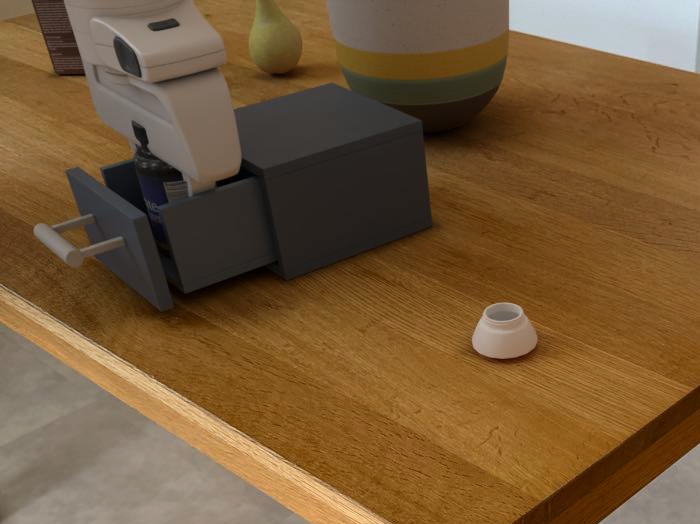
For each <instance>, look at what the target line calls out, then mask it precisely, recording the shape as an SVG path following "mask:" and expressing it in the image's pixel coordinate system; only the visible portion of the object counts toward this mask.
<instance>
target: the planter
mask: <svg viewBox="0 0 700 524" xmlns="http://www.w3.org/2000/svg"><path fill="white" fill-rule="evenodd" d="M325 2H326V3H325V4H326V8H327V13H328V19H329V24H330V29H331V34H332V39H333V44H334V45H333V46H334V49H335V52H336V56H337V60H338V63H339V66H340V69H341V72H342V75H343V77H344V79H345V82H346V84H347V86H348V89H349V90H351V91H353V92H356V93H358V94H360V95H363V96H365V97H368V98H370V99H372V100H375V101H377V102H379V103H382V104H384V105H387V106H389V107H391V108H394V109H396V110H398V111H401V112H403V113H405V114H408V115H410V116H413V117H415V118H417V119H420V120H422V128H423V130H422V131H423V134H430V133H439V132H445V131H446V132H447V131H449V130H453V129H456V128H458V127H461V126H463V125H465V124H467V123H468V122H470V121H471V120H473V119H475V117H477V116H478V115H479V114H480V113H481V112H482V111H484V109H485V108H486V107H487V106H488V105H489V104H490V102H491V101H492V100H493V98H494V97H495V95H496V94H497V92H498V90H499V89H500V86H501V84H502V81H503V78H504V76H505V70H506V66H507V62H508V53H509V44H510V43H509V41H510V0H325Z"/></svg>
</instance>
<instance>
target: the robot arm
mask: <svg viewBox="0 0 700 524" xmlns="http://www.w3.org/2000/svg"><path fill="white" fill-rule="evenodd" d="M64 4H65V7H66V10H67V13H68V16H69V20H70V23H71V26H72V29H73V32H74V36H75V39H76V42H77V45H78V49H79V52H80V55H81V58H82V62H83V66H84V70H85V74H84V75H85V79H86V82H87V86H88V89H89V93H90V96H91V100H92V104H93V107H94V109H95V112H96V114H97V116H98V118H99V120H100V121H101V123H102V124H103V125H104V126H106V127H108V128H109V129H111V130H113V131H115V132H116V133H117V134H119V135H121V136H122V137H124V138H125V139H127V140H128V143H129V146H130V149H131V151H132V153H133V154H134V155H135V153H136V151H137V149H138V148H139V147H141V144H140V142H139V141H138V140H137V139H136V137H135V135H134V131H133V127H132V123H131V121H132V120H133V121H134V122H136V123H138V124H139V125H141V126H143V127H144V128H145V130H146V133H147V137H148V141H149V144H148V145H147V147H148V148H149V150H150V151H151V153H152V154H153V155H155V156H156V157H158V158H159V159H161V160H163V161H164V162H166V163H168V164H169V165H171V166H172V167H174V168H176V169H177V170H179V171H180V172H182V176H183V179H184V181H186V182H187V186H188V196H186V197H189V196H193V195H196V194H199V193H202V192H205V191H209V190H212V189H214V186H215V181H219V180H222V179H225V178H228V177H231V176H234V175H236V174H237V173H238V172H239V169H240V165H241V160H242V156H241V147H240V141H239V135H238V129H237V124H236V119H235V114H234V109H235V108H234V104H233V99H232V96H231V92H230V87H229V85H228V83H227V80H226V78H225V76H224V74H223V73H222V71H221V69H219V67H223V66H225V65H226V64H227V62H228V56H227V51H226V46H225V42H224V40H223V37H222V36H221V34H220V33H219V32H218V31H217V30H216V29H215V28H214V27H213V25H211V24H210V23H209V22H208V21H207V20H206V18H205V17H204V16H203V15H202V13H201V12H200V11H199V9H198V8H197V6H196V4H195V2H194V0H64ZM186 197H185V198H186Z"/></svg>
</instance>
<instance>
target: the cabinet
mask: <svg viewBox="0 0 700 524" xmlns="http://www.w3.org/2000/svg"><path fill="white" fill-rule="evenodd" d="M233 109H234V114H235V119H236V124H237V129H238V135H239V141H240V147H241V156H242V160H241V165H240V166H241V167H243V168H245V169H247V170H249V171H250V172H252V173H254V174H256V175H257V176H259V177H260V179H261V184H262V189H263V193H264V198H265V203H266V207H267V212H268V217H269V221H270V226H271V231H272V235H273V240H274V245H275V249H276V254H277V259H278V261H275V262H272V263H270V264H267V265H264V266H263V267H265V268H267V269H268V270H269V271H271V272H273V273H274V274H276V275H277V276H279V277H280V278H282V279H283V280H284V281H289V280H292V279H295V278H298V277H301V276H303V275H306V274H308V273H311V272H314V271H317V270H320V269H322V268H324V267H325V268H326V267H327V266H330V265H333V264H335V263H339V262H341V261H343V260H345V259H348V258H351V257H354V256H356V255H359V254H362V253H365V252H368V251H370V250H374V249H376V248H378V247H381V246H383V245H386V244H389V243H392V242H394V241H397V240H400V239H402V238H405V237H408V236H411V235H413V234H416V233H418V232H421V231H423V230H427V229H429V228H432V227H433V218H432V208H431V198H430V189H429V187H430V186H429V178H428V168H427V158H426V150H425V149H426V148H425V139H424V133H423V131H422V130H423V128H422V120H420V119H417V118H415V117H413V116H410V115H408V114H405V113H403V112H401V111H398V110H396V109H394V108H391V107H389V106H387V105H384V104H382V103H379V102H377V101H375V100H372V99H370V98H368V97H365V96H363V95H360V94H358V93H356V92H353V91H351V89H350V88H346V87H344V86H342V85H339V84H337V83H334V82H328V83H326V84H321V85H317V86H314V87H310V88H306V89H303V90H300V91H295V92H292V93H289V94H285V95H281V96H278V97H274V98H271V99H267V100H263V101H259V102H255V103H251V104H248V105H244V106H240V107H238V108H237V107H236V108H233Z"/></svg>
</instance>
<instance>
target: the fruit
mask: <svg viewBox="0 0 700 524" xmlns="http://www.w3.org/2000/svg"><path fill="white" fill-rule="evenodd" d="M248 51H249V55H250V57H251V60H252V62H253V63H254V65H255V66H256V67H257V68H258V69H259V70H261V71H262V72H264V73H267V74H276V75H287V72H289V71H291V70H293V69H294V68H295V67H296V66H297V65H298V63H299V62H300V60H301V57H302V55H303V54H302V53H303V38H302V35H301V32H300V30H299V29H298V27H297V26H296V25H295V24H294V23H293V22H292V20H290V18H288V16H287V15H286V14H284V12H283V11H282V9H281V8H280V7H279V5H278V4H277V3H276V2H275V0H255V16H254V20H253V23H252V26H251V29H250V32H249V35H248Z"/></svg>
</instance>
